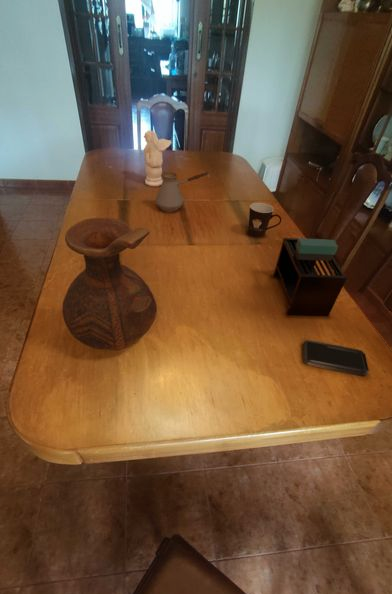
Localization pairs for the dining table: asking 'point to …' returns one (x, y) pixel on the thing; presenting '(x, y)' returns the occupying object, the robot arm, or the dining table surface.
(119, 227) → the jug
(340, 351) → the phone
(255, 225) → the coffee mug
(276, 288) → the dining table surface
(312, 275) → the rack
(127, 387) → the dining table surface
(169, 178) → the coffee pot
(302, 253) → the teal rectangular block
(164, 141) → the cherub figurine
